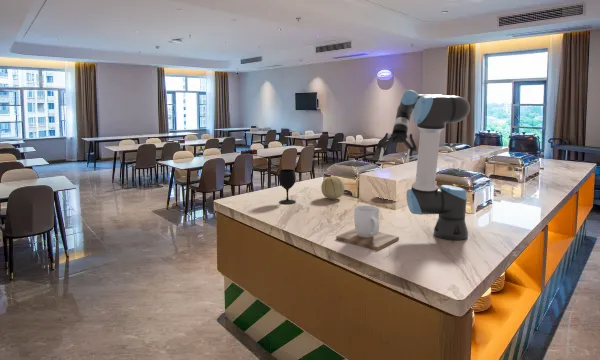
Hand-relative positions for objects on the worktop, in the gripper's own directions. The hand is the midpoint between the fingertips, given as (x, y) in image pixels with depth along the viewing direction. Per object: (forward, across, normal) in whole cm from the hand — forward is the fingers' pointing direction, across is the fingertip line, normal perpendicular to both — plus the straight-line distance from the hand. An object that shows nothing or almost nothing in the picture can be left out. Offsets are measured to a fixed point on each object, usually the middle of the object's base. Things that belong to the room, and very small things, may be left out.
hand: (393, 160), depth 213 cm
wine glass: (+11, +68, -35) cm, 77 cm away
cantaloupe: (-2, +45, -49) cm, 66 cm away
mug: (+44, +5, 0) cm, 44 cm away
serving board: (+45, +4, -1) cm, 45 cm away
